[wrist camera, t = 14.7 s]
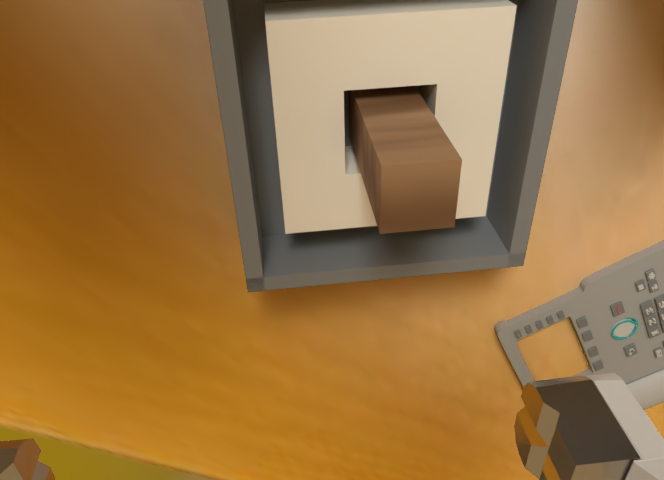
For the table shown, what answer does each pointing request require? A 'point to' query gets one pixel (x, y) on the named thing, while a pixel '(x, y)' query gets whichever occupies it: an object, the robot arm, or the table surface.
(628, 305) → the office telephone
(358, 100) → the peg
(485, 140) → the open box
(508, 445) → the table surface
